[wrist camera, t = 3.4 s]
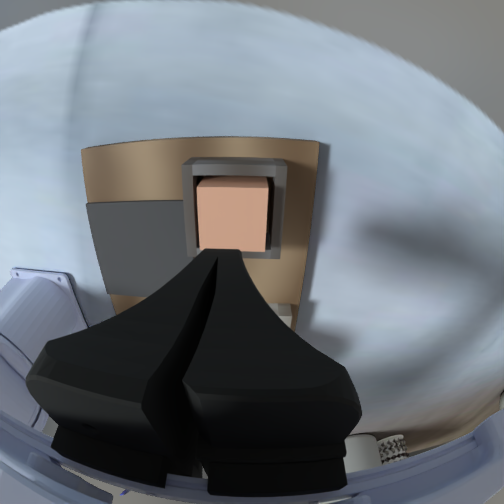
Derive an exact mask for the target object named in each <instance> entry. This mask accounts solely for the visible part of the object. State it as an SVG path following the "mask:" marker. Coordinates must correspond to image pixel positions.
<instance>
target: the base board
mask: <svg viewBox="0 0 504 504" xmlns="http://www.w3.org/2000/svg"><path fill="white" fill-rule="evenodd" d="M318 153H319V142H317V141H313V140H302V139H288V138H271V137H238V136H215V137H182V138H165V139H152V140H141V141H131V142H122V143H114V144H107V145H100V146H93V147H88V148H84V149H82V150H81V156H82V166H83V174H84V181H85V188H86V195H87V201H88V203H91V202H110V201H137V200H183V206H184V220H185V233H186V245H187V255H188V257H194V258H195V257H196V256H197V255H198V254H199V253H200V252H201V251H203V250H200V243H199V226H198V207H197V186H198V185H199V183H200V182H201V181H202V179H203V178H204V176H205V175H237V176H266V178H267V184H268V205H267V224H266V242H265V252H250V251H241V252H242V258H243V261H244V264H245V267H246V269H247V271H248V273H249V275H250V277H251V279H252V281H253V283H254V284H255V286H256V288H257V289H258V291H259V292H260V294H261V295H262V297H263V298H264V300H265V301H266V302H267V304H268V305H269V306H270V307H271V308H272V310H273V311H274V312H275V313H276V314H277V315H278V316H279V318H280V319H281V320H282V321H283V322H284V323H285V324H286V325H287V326H288V327H290V328H291V329H292V330H293V331H294V332H295V326H296V321H297V315H298V309H299V303H300V297H301V291H302V285H303V279H304V272H305V265H306V258H307V251H308V244H309V236H310V229H311V221H312V212H313V204H314V195H315V185H316V175H317V164H318ZM110 297H111V300H112V303H113V306H114V309H115V312H116V315H118V314H119V313H121V312H123V311H125V310H127V309H129V308H130V307H132V306H134V305H136V304H137V303H139V302H141V301H142V300H144V299H145V298H147V297H136V296H125V295H114V294H110Z"/></svg>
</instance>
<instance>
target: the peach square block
mask: <svg viewBox="0 0 504 504" xmlns="http://www.w3.org/2000/svg"><path fill="white" fill-rule="evenodd" d="M267 205H268V184H267V178H266V176H237V175H205V176H204V178H203V179H202V181H201V182H200V183H199V185H198V186H197V207H198V226H199V243H200V250H204V249H205V248H212V249H239V250H240V251H250V252H265V242H266V224H267Z"/></svg>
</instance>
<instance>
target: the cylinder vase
mask: <svg viewBox="0 0 504 504" xmlns="http://www.w3.org/2000/svg"><path fill="white" fill-rule="evenodd" d="M345 445H346V451H347V454H346V456H345V457H343V459H344V465H345V471H346V473H351V472H356V471H361V470H366V469H370V468H374V467H378V466H382V462H381V457H380V453H379V449H378V445H377V441H376V438H375V437H374V436H372V435H369V434H359V435H352V436H347V438H346V439H345ZM346 499H349V498H346ZM341 500H345V499H341ZM341 500H335V501H329V502H322V503H318V504H328V503H333V502H337V501H341Z"/></svg>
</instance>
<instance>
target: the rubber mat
mask: <svg viewBox="0 0 504 504" xmlns="http://www.w3.org/2000/svg"><path fill="white" fill-rule="evenodd" d="M86 208H87V214H88V219H89V224H90V229H91V233H92V238H93V242H94V246H95V251H96V255H97V259H98V262H99V266H100V270H101V273H102V277H103V280H104V284H105V287H106V291H107V294H114V295H125V296H136V297H148V296H150V295H151V294H153V293H154V292H156V291H157V290H158V289H160V288H161V287H162V286H164V285H165V284H166V283H167V282H168V281H170V280H171V279H172V278H173V277H175V276H176V275H177V274H178V273H179V272H180V271H181V270H182V269H184V268H185V267H186V266H187V265H188V264H189V263H190V262H191V261H192V260H193V259H194V257H188V255H187V245H186V233H185V220H184V206H183V200H137V201H110V202H91V203H87V204H86Z"/></svg>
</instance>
